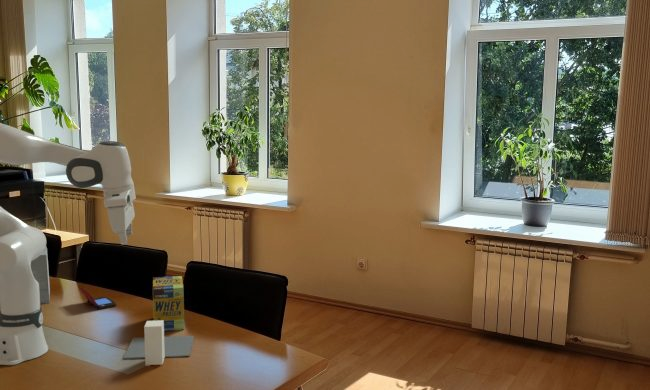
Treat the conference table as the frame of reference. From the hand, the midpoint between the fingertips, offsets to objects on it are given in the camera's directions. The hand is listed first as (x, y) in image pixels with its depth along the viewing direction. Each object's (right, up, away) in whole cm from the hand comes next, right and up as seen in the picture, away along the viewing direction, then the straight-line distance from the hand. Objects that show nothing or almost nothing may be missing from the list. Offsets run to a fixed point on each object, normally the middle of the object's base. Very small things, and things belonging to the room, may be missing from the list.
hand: (127, 239), depth 180 cm
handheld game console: (-29, -30, +53) cm, 68 cm away
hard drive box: (-55, -28, +60) cm, 86 cm away
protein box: (+4, -33, +35) cm, 48 cm away
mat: (+7, -36, +13) cm, 39 cm away
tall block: (+8, -38, +2) cm, 39 cm away
